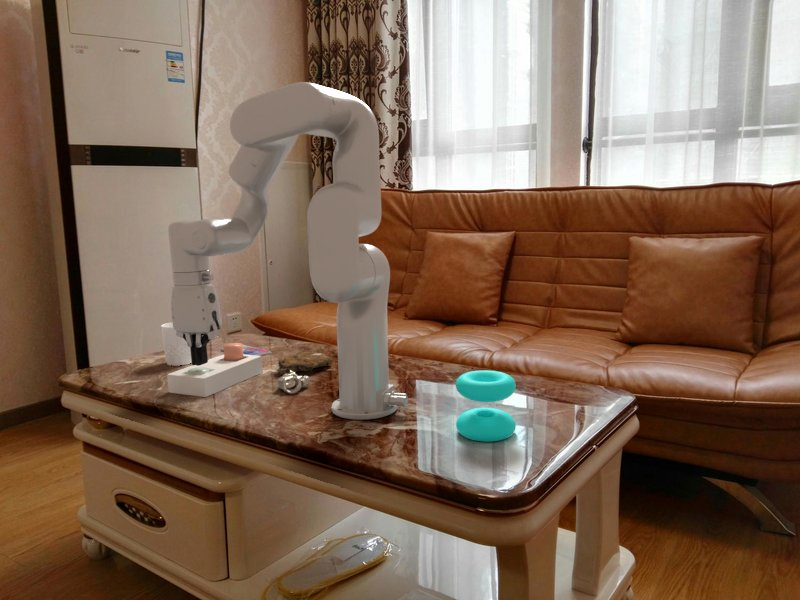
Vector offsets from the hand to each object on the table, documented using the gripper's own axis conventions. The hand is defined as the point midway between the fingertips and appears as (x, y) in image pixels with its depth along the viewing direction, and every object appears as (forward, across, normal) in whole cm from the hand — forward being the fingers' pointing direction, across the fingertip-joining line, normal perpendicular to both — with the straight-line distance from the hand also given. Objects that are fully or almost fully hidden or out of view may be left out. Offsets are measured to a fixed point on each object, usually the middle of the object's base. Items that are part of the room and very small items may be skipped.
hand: (200, 363), depth 135 cm
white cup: (+6, +22, -17) cm, 28 cm away
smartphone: (+6, +13, -32) cm, 35 cm away
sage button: (+5, +1, 0) cm, 5 cm away
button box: (+6, +1, -6) cm, 8 cm away
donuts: (+7, -64, +4) cm, 65 cm away
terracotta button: (+3, +1, -12) cm, 12 cm away
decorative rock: (+6, -12, -22) cm, 26 cm away
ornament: (+7, -19, -7) cm, 21 cm away
